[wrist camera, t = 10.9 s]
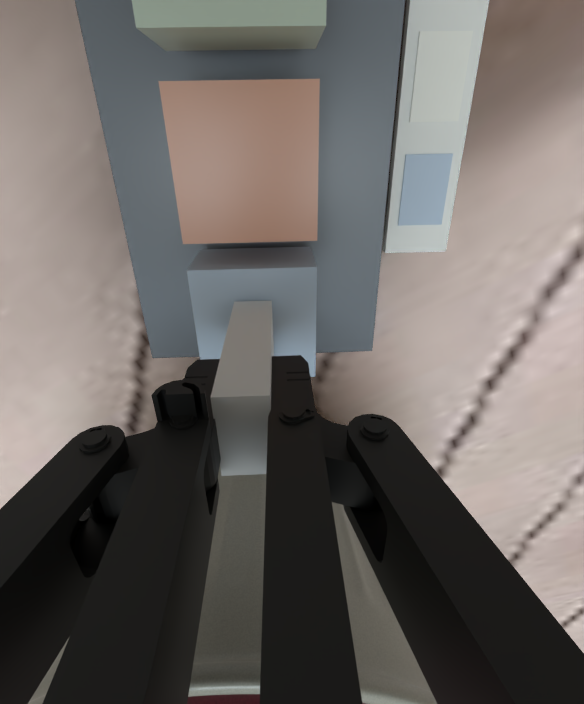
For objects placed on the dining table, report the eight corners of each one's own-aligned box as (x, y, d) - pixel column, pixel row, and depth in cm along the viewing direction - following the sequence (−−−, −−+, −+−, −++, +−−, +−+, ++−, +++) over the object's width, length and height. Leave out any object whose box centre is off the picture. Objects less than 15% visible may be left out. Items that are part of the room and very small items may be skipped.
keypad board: (3, -454, 11) (-135, -752, 7) (429, -447, 11) (503, -730, 8) (161, 341, 23) (140, 380, 19) (364, 334, 23) (381, 371, 20)
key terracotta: (180, 91, 15) (158, 81, 12) (311, 89, 15) (319, 78, 12) (197, 226, 17) (182, 244, 15) (310, 223, 17) (317, 240, 15)
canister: (425, 385, 25) (827, 1055, 7) (336, 556, 34) (411, 1068, 15) (138, 322, 22) (-494, 1182, 4) (118, 526, 31) (-117, 1113, 12)
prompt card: (424, -180, 14) (429, -193, 13) (514, -180, 14) (523, -192, 13) (382, 250, 21) (385, 253, 20) (442, 248, 21) (446, 251, 20)
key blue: (200, 249, 18) (186, 270, 15) (310, 246, 18) (316, 267, 15) (213, 346, 20) (203, 380, 17) (309, 343, 20) (315, 376, 18)
